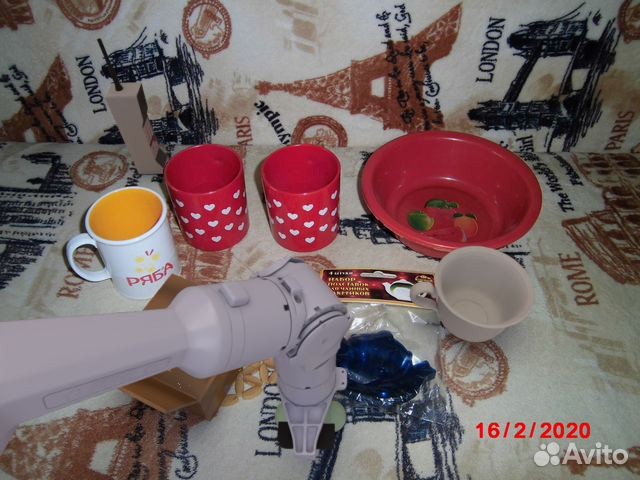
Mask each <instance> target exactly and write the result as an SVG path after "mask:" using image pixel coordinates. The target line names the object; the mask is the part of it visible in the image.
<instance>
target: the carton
mask: <svg viewBox="0 0 640 480" xmlns="http://www.w3.org/2000/svg"><path fill="white" fill-rule="evenodd" d="M199 285H200V284H198V283H196V282H194V281H191V280H189V279H186V278H184V277H182V276H179V275H178V274H174V273H171V274H170V275H169V276H168V277H167V279H166V280H165V281H164V282H163V284H162V285H161V286H160V288H159V289H158V290H157V291H156V293H155V294H153V296H152V298H151V299H150V300H149V301H148V303H147V304H146V305H145V307H144V308H143V309H142V310H141V311H143V310H156V309H166V308H167V307H168V306H169V305H170V304H171V302H172V301H173V300H174V298H175V297H176V296H177V294H178V293H179V292H180V291H182V290H183V289H185V288H187V287H191V286H199ZM240 369H241V370H240ZM242 369H243V367H241V368H237V369H234V370H231V371H228V372H224V373H221V374H218V375H214V376H211V377H208V378H203V379H200V378H195V377H193V376H190V375H189V374H187V373H186V372H184V371H183V370H181V369H180V368H178V367H175V368H172V369H171V370H170V371H171V372H170V371H168V370H167V371H164V372H161V373H158V374H156V375H153V376H150V377H153V378H155V379H157V380H159V381H161V382H163V383H165V384H167V385H169V386H171V387H173V388H175V389H177V390H179V391H181V392H183V393H185V394H187V395H189V396H191V397H193V398H195V399H197V403H195V404H192V405H190V406H187V407H184V409H185V410H187V411H190V412H192V413H193V414H195V415H198V416H200V417H201V418H204V419H205V420H207V421H209V422H212V420H213V418H214V416H215V415H216V413H217V411H218V410H219V408H220V406H221V405H222V403H223V401H224V399H225V398H226V396H227V394H228V393H229V392H230V389H231V388H232V386H233V384H234V383H235V381H236V379H237V378H238V376H239V374H240V372H241V371H242ZM239 370H240V371H239ZM178 383H179V384H180V385H179V384H178ZM189 385H190V386H189ZM180 387H181V388H180Z"/></svg>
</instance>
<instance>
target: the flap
mask: <svg viewBox="0 0 640 480" xmlns="http://www.w3.org/2000/svg"><path fill="white" fill-rule="evenodd" d="M116 390H118V391H120V392H122V393H124V394H126V395H128V396H130V397H132V398H134V399H136V400H137V401H139V402H141V403H142V404H145V405H147V406H149V407H151V408H153V409H155V410H157V411H159V412H160V413H163V414H169V413H171V412H175V411H178V410H180V409H183V408H184V407H187V406H190V405H192V404H195V403H197V399H195V398H193V397H191V396H189V395H187V394H185V393H183V392H181V391H179V390H177V389H175V388H173V387H171V386H169V385H167V384H165V383H163V382H161V381H159V380H157V379H155V378H153V377H147V378H145V379H142V380H139V381H136V382H134V383H131V384H128V385H125V386H123V387H120V388H117V389H116ZM184 409H185V408H184Z"/></svg>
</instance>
